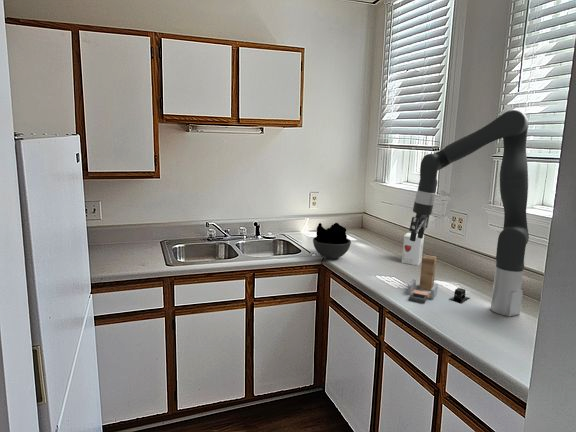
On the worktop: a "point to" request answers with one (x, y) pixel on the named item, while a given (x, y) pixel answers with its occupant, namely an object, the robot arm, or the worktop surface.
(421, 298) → the trap pit
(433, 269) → the walnut block
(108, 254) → the worktop surface
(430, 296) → the grey cradle
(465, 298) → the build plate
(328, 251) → the heaped charcoal-grey bowl
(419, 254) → the supplement box
